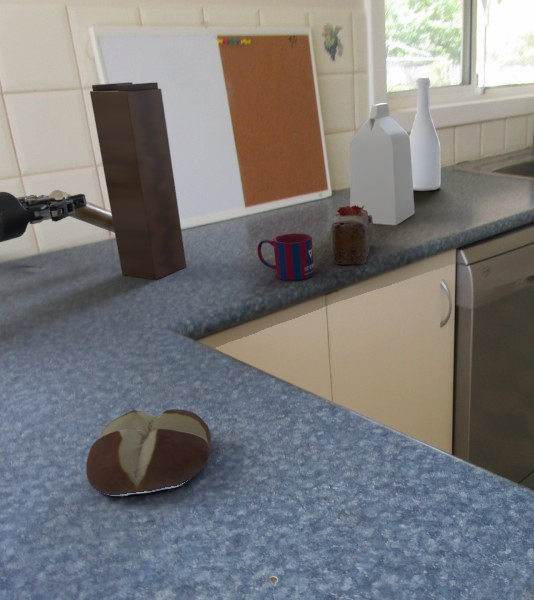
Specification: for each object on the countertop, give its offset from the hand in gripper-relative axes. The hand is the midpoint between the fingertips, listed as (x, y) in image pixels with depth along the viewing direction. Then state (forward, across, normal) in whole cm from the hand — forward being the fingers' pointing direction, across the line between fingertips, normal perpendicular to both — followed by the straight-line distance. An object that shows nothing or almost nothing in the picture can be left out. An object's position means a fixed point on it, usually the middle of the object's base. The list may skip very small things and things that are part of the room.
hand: (75, 198), depth 117 cm
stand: (+5, -11, +14) cm, 18 cm away
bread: (-43, -55, +14) cm, 71 cm away
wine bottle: (+93, -29, +14) cm, 98 cm away
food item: (+27, -41, +14) cm, 51 cm away
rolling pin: (+5, 0, +4) cm, 6 cm away
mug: (+12, -35, +14) cm, 40 cm away
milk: (+57, -33, +14) cm, 67 cm away
